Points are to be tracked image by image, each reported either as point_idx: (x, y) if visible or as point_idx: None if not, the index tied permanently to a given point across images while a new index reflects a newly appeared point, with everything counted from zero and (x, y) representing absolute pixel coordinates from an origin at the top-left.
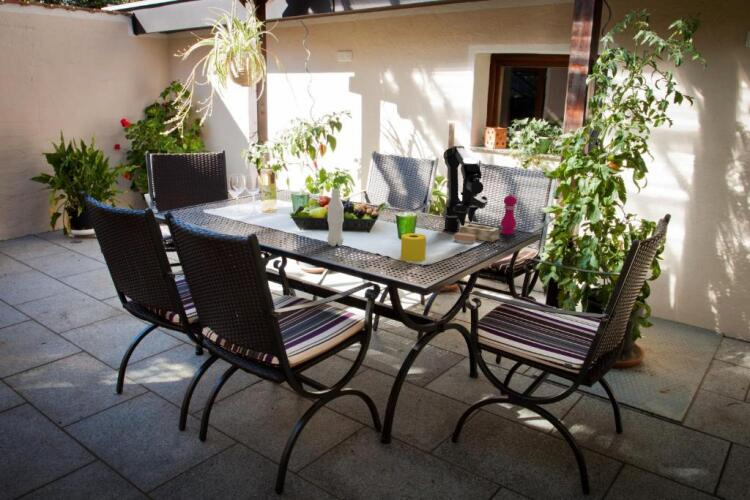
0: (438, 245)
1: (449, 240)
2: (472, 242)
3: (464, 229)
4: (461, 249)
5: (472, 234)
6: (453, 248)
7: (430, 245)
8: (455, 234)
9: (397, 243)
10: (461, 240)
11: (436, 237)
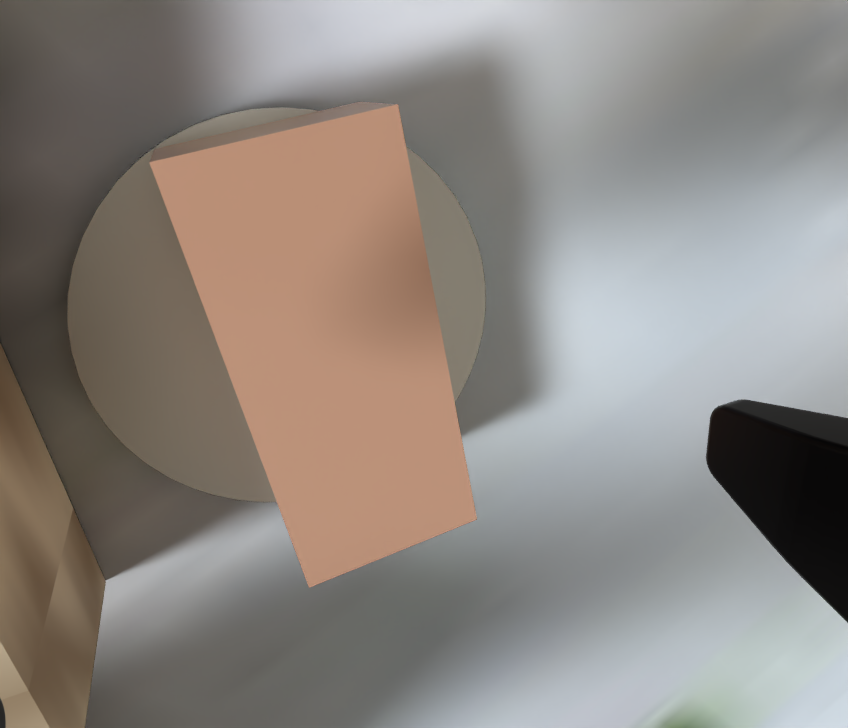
0: None
1: None
2: None
3: (42, 634)
4: (826, 44)
5: (202, 259)
6: (817, 180)
7: None
8: (470, 502)
9: (837, 670)
10: None
11: (431, 693)
